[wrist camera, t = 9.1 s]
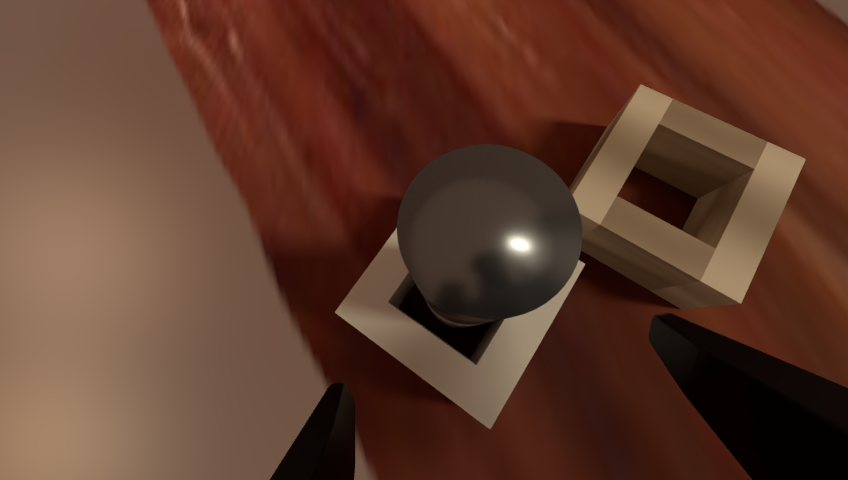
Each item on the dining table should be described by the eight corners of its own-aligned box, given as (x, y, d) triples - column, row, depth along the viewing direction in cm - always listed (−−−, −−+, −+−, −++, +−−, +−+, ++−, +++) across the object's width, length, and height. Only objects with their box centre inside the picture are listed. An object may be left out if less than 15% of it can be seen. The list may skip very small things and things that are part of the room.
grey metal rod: (466, 340, 17) (522, 360, 5) (417, 305, 18) (360, 249, 6) (498, 290, 18) (614, 200, 6) (449, 258, 18) (460, 117, 6)
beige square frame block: (681, 309, 17) (741, 303, 13) (543, 228, 18) (566, 205, 15) (739, 190, 18) (805, 159, 15) (607, 125, 20) (640, 84, 17)
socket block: (480, 409, 16) (489, 429, 13) (355, 316, 18) (334, 312, 14) (558, 276, 18) (585, 263, 14) (436, 202, 19) (435, 174, 16)
